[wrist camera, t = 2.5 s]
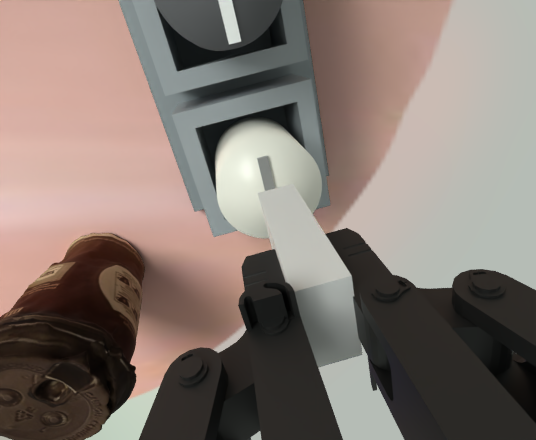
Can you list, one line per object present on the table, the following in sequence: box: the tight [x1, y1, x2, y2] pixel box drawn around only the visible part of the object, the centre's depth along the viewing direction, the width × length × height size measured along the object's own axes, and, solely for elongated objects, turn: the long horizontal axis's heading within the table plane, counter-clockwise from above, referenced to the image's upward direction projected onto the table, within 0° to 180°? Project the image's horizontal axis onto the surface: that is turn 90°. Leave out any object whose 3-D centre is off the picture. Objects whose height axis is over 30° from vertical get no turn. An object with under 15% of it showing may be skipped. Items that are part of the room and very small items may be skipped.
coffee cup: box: [0, 233, 145, 440], centre depth 23 cm, size 9×8×13 cm
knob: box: [215, 116, 322, 238], centre depth 19 cm, size 5×5×6 cm
